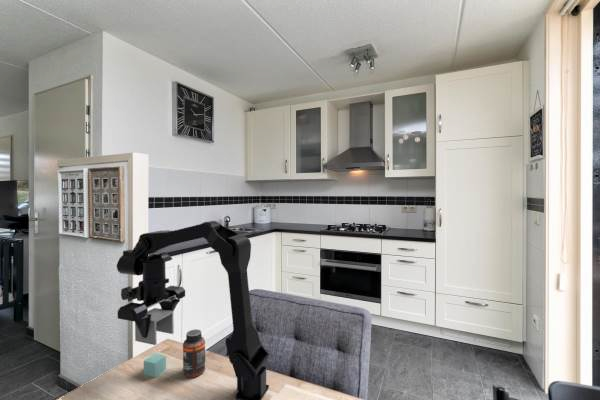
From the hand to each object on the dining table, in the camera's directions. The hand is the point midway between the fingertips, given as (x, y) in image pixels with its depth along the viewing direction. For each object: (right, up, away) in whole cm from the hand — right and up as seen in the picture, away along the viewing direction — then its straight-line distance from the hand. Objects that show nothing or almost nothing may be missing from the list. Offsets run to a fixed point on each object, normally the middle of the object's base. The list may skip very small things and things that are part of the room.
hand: (154, 331), depth 82 cm
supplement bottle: (+11, -12, 0) cm, 16 cm away
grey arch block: (0, -2, 0) cm, 2 cm away
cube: (0, -12, 0) cm, 12 cm away
